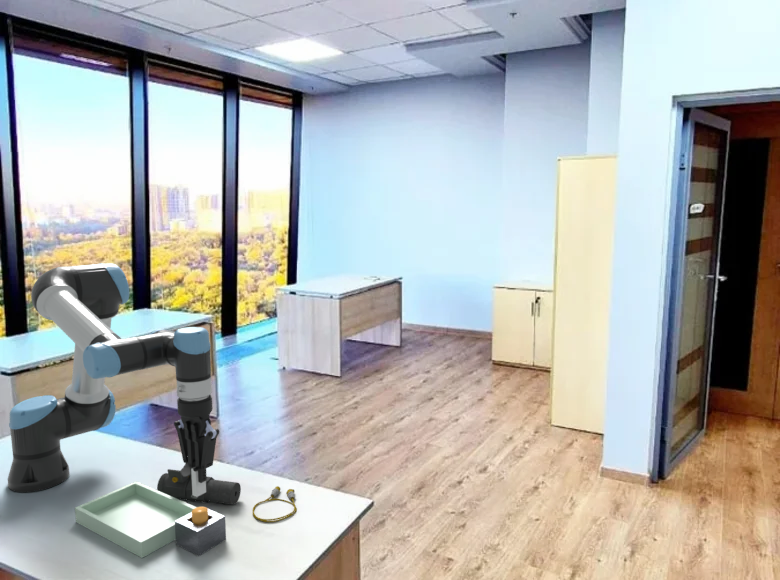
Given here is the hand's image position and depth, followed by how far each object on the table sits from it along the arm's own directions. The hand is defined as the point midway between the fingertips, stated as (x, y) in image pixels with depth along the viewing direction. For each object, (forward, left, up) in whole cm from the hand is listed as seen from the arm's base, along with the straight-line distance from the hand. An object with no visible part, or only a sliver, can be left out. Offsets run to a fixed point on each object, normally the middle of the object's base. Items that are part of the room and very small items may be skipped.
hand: (199, 493), depth 138 cm
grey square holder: (0, 0, -12) cm, 12 cm away
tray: (-20, -3, -12) cm, 23 cm away
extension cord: (+3, +22, -13) cm, 26 cm away
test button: (0, 0, -9) cm, 9 cm away
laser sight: (-18, +13, -13) cm, 25 cm away
